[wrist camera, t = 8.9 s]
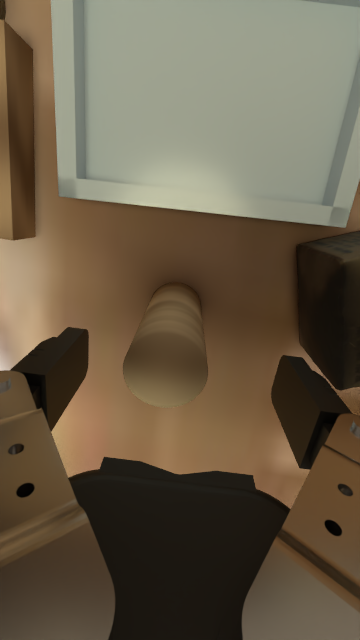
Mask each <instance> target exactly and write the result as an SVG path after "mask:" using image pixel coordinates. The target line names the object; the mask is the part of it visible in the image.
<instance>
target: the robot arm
mask: <svg viewBox="0 0 360 640" xmlns="http://www.w3.org/2000/svg"><path fill="white" fill-rule="evenodd" d="M88 341H89V335H88V330H87V329H79V328H71V327H68V328H66V329H65V330H64V331H63V332H62V333H61V334H60V335H59V336H58V337H52V338H49V339H47V340H45V341H42V342H41V343H40V344H39V345H38V346H36V347H35V348H34V350H32V351H31V352H30V353H29V354H28V355H26V356H25V357H24V358H23V359H22V360H21V361H20V362H19V363H17V364H16V365H15V366H14V367H13V368H12V369H11V370H10V371H0V640H360V416H358V415H355V414H352V413H351V411H350V410H349V409H348V407H347V406H346V405H345V404H344V402H343V401H342V400H341V398H340V397H339V396H338V395H337V393H336V392H335V391H334V390H333V388H331V386H330V384H329V383H328V382H327V381H326V379H325V378H323V377H322V376H321V375H319V374H318V373H317V372H315V371H312V370H311V368H310V367H309V366H308V364H307V363H306V362H305V360H304V359H303V358H301V357H293V356H286V355H283V356H282V357H281V359H280V361H279V365H278V368H277V372H276V376H275V379H274V383H273V386H272V391H271V399H272V403H273V406H274V408H275V410H276V413H277V415H278V418H279V420H280V422H281V425H282V427H283V430H284V432H285V434H286V437H287V439H288V442H289V444H290V447H291V449H292V451H293V454H294V456H295V459H296V461H297V463H298V466H299V468H302V469H310V472H309V474H308V476H307V478H306V480H305V482H304V484H303V486H302V488H301V490H300V492H299V494H298V496H297V498H296V500H295V502H294V504H293V506H292V508H291V509H289V508H288V507H287V506H286V505H284V504H283V503H282V502H280V501H279V500H277V499H276V498H274V497H272V496H271V495H269V494H267V493H265V492H263V491H260V490H258V489H256V488H255V483H254V479H253V475H245V474H237V473H229V472H221V471H210V472H201V473H192V474H182V475H179V474H174V473H171V472H169V471H166V470H163V469H160V468H157V467H155V466H152V465H149V464H146V463H143V462H141V461H133V460H125V459H117V458H109V457H104V458H103V461H102V464H101V467H100V469H98V470H91V471H87V472H83V473H80V474H77V475H74V476H72V477H69V478H68V476H67V474H66V471H65V468H64V466H63V463H62V460H61V458H60V455H59V452H58V450H57V447H56V444H55V442H54V439H53V436H52V434H51V431H52V430H53V428H54V426H55V425H56V423H57V422H58V420H59V418H60V417H61V415H62V414H63V412H64V410H65V409H66V407H67V406H68V404H69V402H70V401H71V399H72V398H73V396H74V394H75V393H76V391H77V390H78V388H79V386H80V385H81V383H82V382H83V380H84V378H85V376H86V373H87V369H88Z"/></svg>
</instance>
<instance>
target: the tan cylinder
mask: <svg viewBox="0 0 360 640" xmlns="http://www.w3.org/2000/svg"><path fill="white" fill-rule="evenodd" d="M123 374H124V379H125V382H126V384H127V386H128V387H129V389H130V390H131V392H132V393H133V394H134V395H135V396H136V397H138V398H139V399H140V400H142V401H144V402H145V403H147V404H150V405H153V406H157V407H164V408H170V407H177V406H181V405H184V404H186V403H188V402H190V401H192V400H193V399H194V398H196V397H197V396H198V395H199V394H200V392H201V391H202V390H203V388H204V386H205V384H206V381H207V377H208V366H207V357H206V348H205V339H204V331H203V322H202V313H201V304H200V300H199V297H198V295H197V294H196V292H195V291H194V290H193V289H192V288H191V287H189V286H187V285H185V284H182V283H177V282H174V283H168V284H165V285H163V286H161V287H160V288H158V289H157V290H156V292H155V293H154V294H153V296H152V299H151V301H150V303H149V305H148V308H147V310H146V312H145V314H144V316H143V319H142V321H141V323H140V325H139V328H138V330H137V332H136V334H135V337H134V339H133V341H132V343H131V345H130V348H129V350H128V352H127V354H126V357H125V359H124V363H123Z"/></svg>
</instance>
